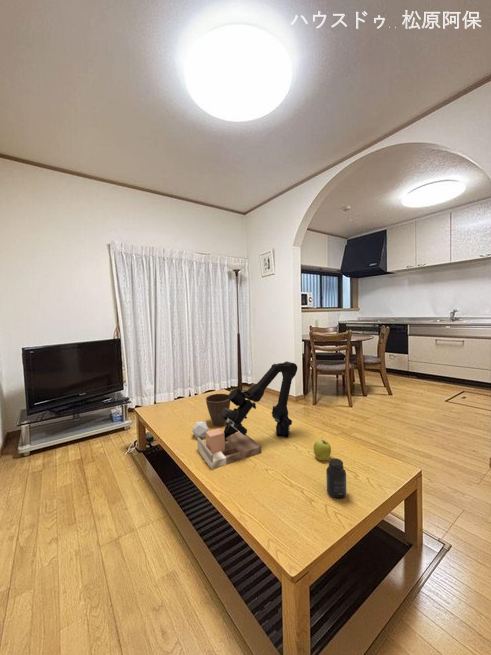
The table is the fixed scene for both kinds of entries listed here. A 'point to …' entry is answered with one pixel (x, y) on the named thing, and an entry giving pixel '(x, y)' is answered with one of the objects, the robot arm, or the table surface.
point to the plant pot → (217, 407)
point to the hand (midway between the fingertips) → (222, 438)
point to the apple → (322, 449)
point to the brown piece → (229, 450)
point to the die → (200, 429)
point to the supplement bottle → (336, 479)
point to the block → (215, 440)
